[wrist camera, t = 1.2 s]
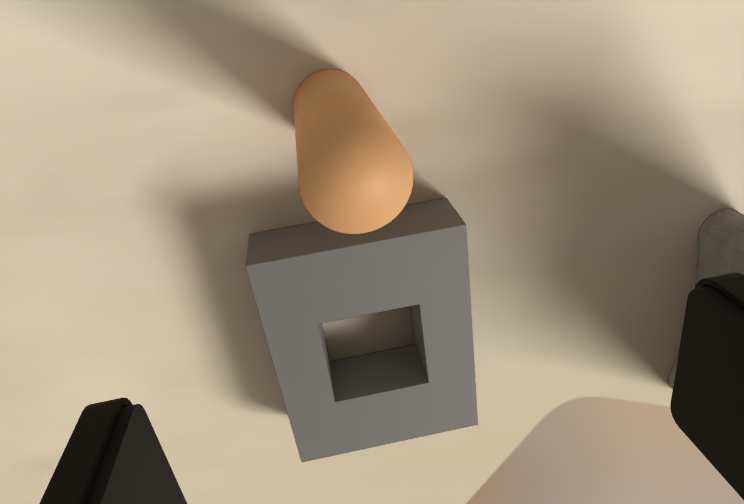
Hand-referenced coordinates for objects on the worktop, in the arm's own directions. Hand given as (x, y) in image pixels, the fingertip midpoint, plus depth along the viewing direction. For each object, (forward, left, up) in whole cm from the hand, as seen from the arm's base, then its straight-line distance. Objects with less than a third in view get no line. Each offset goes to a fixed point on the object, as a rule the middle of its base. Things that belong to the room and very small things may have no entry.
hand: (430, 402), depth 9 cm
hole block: (+14, 0, -23) cm, 27 cm away
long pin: (0, 0, -23) cm, 23 cm away
